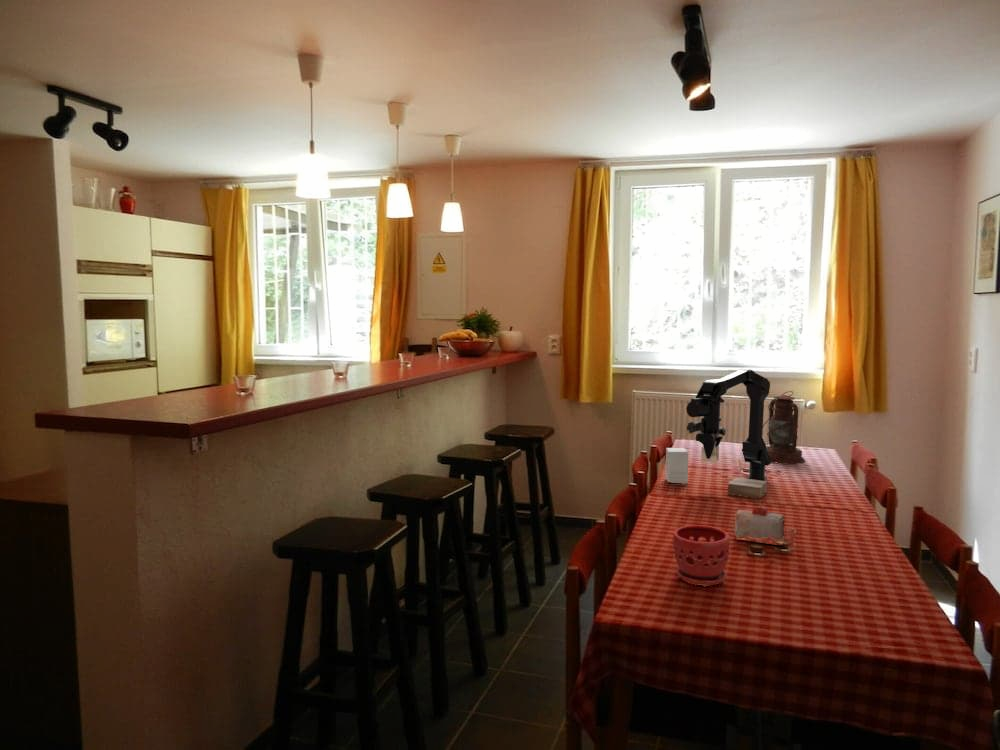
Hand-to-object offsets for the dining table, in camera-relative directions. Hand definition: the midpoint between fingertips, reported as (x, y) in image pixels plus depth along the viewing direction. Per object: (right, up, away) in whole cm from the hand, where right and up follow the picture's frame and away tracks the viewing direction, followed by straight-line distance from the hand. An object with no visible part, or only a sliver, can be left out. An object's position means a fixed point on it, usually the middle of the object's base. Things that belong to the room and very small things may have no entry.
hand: (710, 457), depth 253 cm
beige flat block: (+12, -12, -6) cm, 18 cm away
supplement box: (-10, -11, +10) cm, 18 cm away
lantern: (+47, -7, +50) cm, 69 cm away
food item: (-3, -18, -56) cm, 59 cm away
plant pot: (-28, -20, -84) cm, 91 cm away
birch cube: (0, -1, 0) cm, 1 cm away
